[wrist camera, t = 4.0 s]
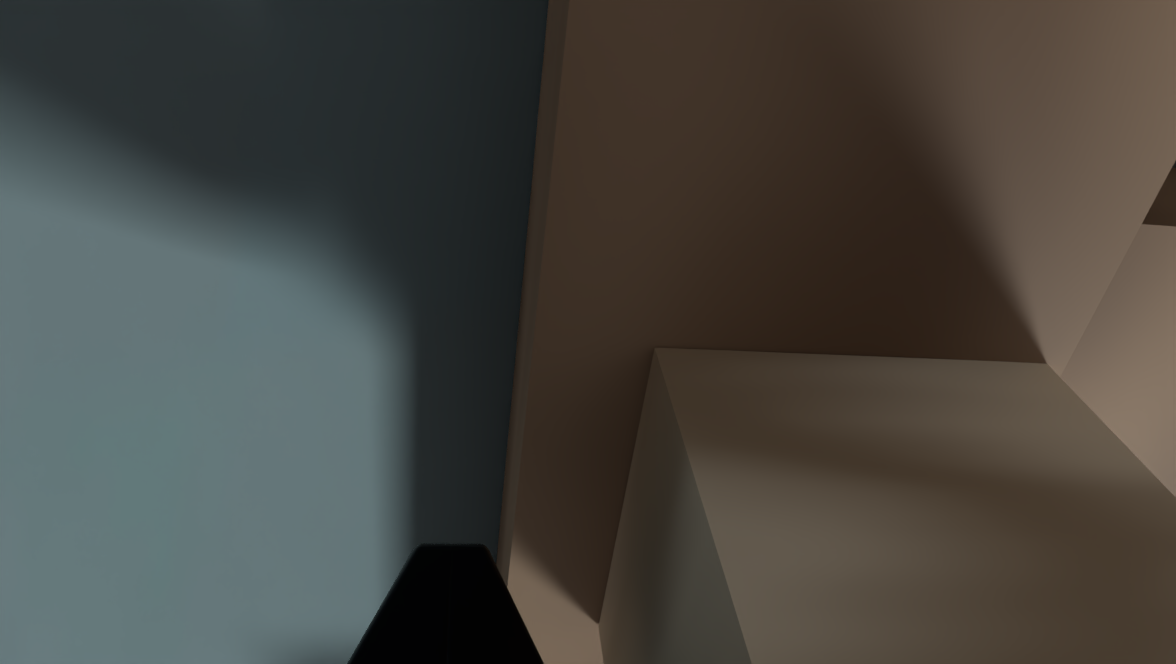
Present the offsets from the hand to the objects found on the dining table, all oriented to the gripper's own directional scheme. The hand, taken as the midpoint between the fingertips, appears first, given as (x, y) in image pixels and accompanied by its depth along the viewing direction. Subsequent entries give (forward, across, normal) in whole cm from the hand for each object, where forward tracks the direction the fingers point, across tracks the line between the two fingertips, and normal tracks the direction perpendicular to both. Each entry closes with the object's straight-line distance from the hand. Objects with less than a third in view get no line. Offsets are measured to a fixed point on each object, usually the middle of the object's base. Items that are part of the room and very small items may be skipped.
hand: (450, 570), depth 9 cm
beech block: (+1, -4, 0) cm, 4 cm away
